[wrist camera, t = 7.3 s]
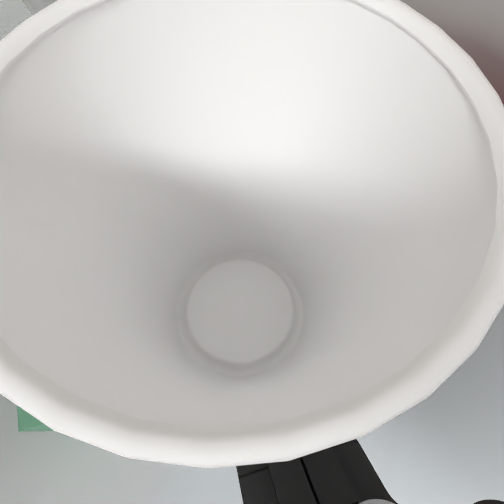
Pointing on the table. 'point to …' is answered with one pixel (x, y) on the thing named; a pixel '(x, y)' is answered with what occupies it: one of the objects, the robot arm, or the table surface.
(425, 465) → the table surface
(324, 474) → the robot arm
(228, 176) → the cup
